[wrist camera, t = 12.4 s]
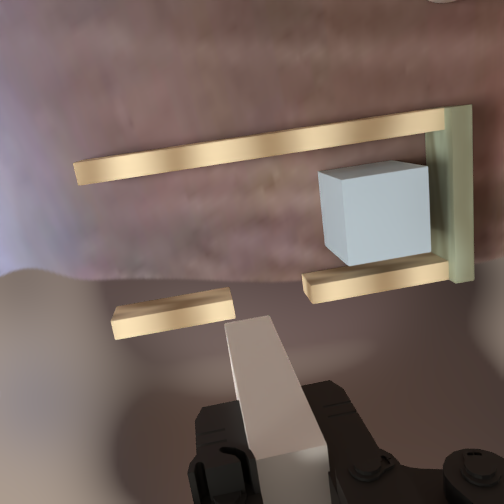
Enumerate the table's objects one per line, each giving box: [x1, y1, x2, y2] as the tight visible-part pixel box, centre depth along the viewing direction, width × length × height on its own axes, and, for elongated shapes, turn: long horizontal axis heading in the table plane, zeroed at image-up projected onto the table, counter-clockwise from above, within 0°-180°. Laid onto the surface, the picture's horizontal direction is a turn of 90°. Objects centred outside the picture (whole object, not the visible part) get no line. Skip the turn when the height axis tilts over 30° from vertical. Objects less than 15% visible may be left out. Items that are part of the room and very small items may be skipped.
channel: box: [73, 104, 474, 340], centre depth 36 cm, size 28×13×4 cm, turn 98°
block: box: [318, 160, 431, 266], centre depth 35 cm, size 6×6×6 cm
